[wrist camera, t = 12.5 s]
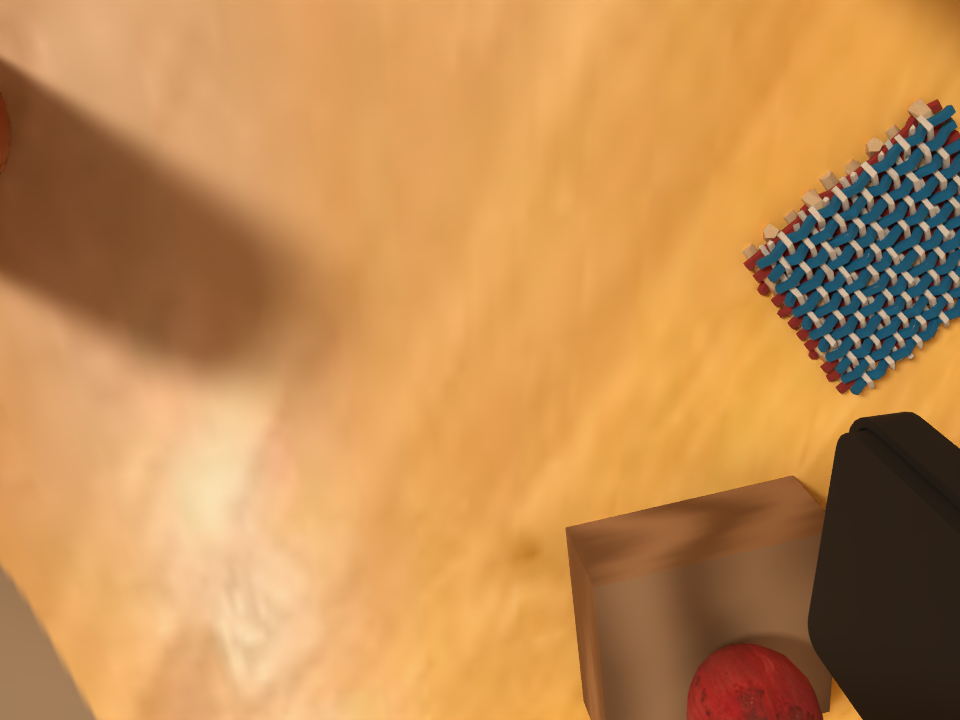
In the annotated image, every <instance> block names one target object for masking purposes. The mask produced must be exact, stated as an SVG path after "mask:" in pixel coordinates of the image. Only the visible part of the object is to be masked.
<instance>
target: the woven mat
mask: <svg viewBox="0 0 960 720" xmlns="http://www.w3.org/2000/svg"><path fill="white" fill-rule="evenodd" d="M941 109H942V106H941V104H940V102H939V101H938V99H937V100H935V101H933V102H931V103H929V104H927V105H926V104H925V103H924V102H923V100H922V99H921V98H920V99H919V100H917V101H915V102H914V103H913V104H912V105H911V106H910V108H909V109H908V111H909V112H910V113H911V114H912V116H910V117H909V119H908V121H907V123H906V125H905V127H904V128H903V129H902V130H901V131H900V130H899V129H898V128H897V126H896V125H895V124H894V125H893V126H891V127H890V128H889V129H888V130H887V131H886V134H887V136H888V138H889V139H888V140H887V141H886V143H885V145H884V146H883V144H884V143H883V142H881V141H880V140H878V139H877V138H875V137H873V138H872V139H871V140H869V141H868V142H867V144H866V150H865V152H866V154H867V155H868V157H869V158H870V159H869V160H868V161H865V162H864V163H863V164H862V165H861V164H860V163H859V162H858V161H856V160H854V159H852V160H851V161H850V162H849V163H848V164H847V165H845V166H846V171H845V172H846V174H847V175H848V176H847V177H841V179H840V180H839V181H840V182H838V180H837V179H836V177H835V176H834V174H833V172H832V171H831V170H829V171H828V172H827V173H826V174H825V175H823V176H822V177H821V178H820V179H819V180H820V181H821V183H822V184H823V186H824V187H825V189H826V192H823V193H821V194H819V195H818V194H817V192H816V191H815V190H814V189H812V190H810V191H808V192H806V193H805V195H804V196H803V197H802V198H801V199H802V200H803V201H804V203H805V205H804V206H803V207H802V208H801V209H800V211H799V213H797V214H798V215H797V214H796V213H795V211H794V210H792V211H790V212H789V213H788V214H787V215H786V216H785V217H783V218H784V219H785V221H786V222H787V224H788V226H786V227H785V228H784V229H783V230H782V231H781V232H779V229H777V228H776V227H774V226H773V225H771V224H769V225H767V226H766V227H765V228H764V229H763V238H764V239H765V240H766V242H767V244H765V245H761V246H759V248H760V250H758V251H757V249H756V248H755V247H754V245H753V244H752V243H751V244H750V245H749V246H748V247H747V248H746V249H744V250H743V251H742V252H743V254H744V255H745V257H746V258H747V261H746V262H744V265H745V266H746V267H747V269H748V270H751V269H754V270H755V272H756V273H755V274H753V277H754V278H755V279H756V281H758V282H759V283H760V282H761V283H760V285H759V287H758V289H757V290H758V292H759V293H760V294H761V295H766V294H767V292H768V290H770V291H771V293H772V294H773V295H774V296H775V297H774V298H772V299H771V301H772V302H773V304H774V305H775V306H777V307H778V306H779V305H780V304H781V306H782V307H783V308H781V309H780V310H779V311H778V313H777V314H778V315H779V316H780V318H782V317H784V316H786V315H787V314H788V315H789V317H790V318H791V320H790V321H789V322H788V324H789V326H790V327H791V328H792V329H795V328H796V327H798V329H799V330H800V331H799V332H797V333H796V334H797V336H798V337H799V338H800V339H801V340H802V341H803V340H804V339H805V338H806V340H807V342H806V343H805V344H804V345H805V347H806V348H807V349H808V350H809V351H810V352H809V357H810V358H811V359H817V358H818V357H819V358H820V359H821V360H822V361H823V362H824V364H823V365H821V366H820V367H821V368H822V369H823V371H824V372H826V373H828V372H829V371H830V373H828V374H827V375H826V377H827V379H828V380H829V382H831V381H833V380H836V379H837V380H838V381H839V382H840V384H839V385H838V386H837V387H836V389H837V390H838V391H839V392H840V393H841V394H843V393H844V392H845V391H846V390H847V389H849V388H851V387H852V388H851V389H850V390H851V392H852V393H853V394H855V395H859V393H860V392H861V391H862V389H863V388H864V387H865V386H866V384H868V387H869V388H874V387H875V386H874V383H873V381H872V380H877V379H879V378H881V377H882V376H884V375H885V373H886V370H887V368H888V365H890V368H891V369H893V370H895V366H896V365H895V361H900V360H902V359H904V357H908V358H909V359H911V358H912V357H913V356H914V355H913V354H912V351H913V349H914V347H915V345H916V343H917V347H918V348H920V349H922V347H923V341H927V340H929V339H931V338H932V337H933V336H934V335H935V333H936V331H937V330H938V329H940V328H939V324H940V323H943V324H944V327H947V326H949V325H950V323H949V320H951V319H954V318H957V317H959V316H960V134H959V132H958V131H956V130H954V129H955V128H956V127H957V125H956V123H955V121H954V120H953V119H952V118H951V116H952V115H953V114H954V113H955V112H956V111H955V109H954V108H953V106H952V105H949V106H946V107H945V108H944V109H943V110H942V111H941V112H939V113H937V114H935V115H934V114H933V113H934V112H936V111H938V110H941ZM916 128H917V130H916ZM882 146H883V147H882ZM932 157H933V158H932ZM880 179H881V181H880V183H879V180H880ZM830 200H831V202H830ZM853 203H854V204H853ZM868 212H869V213H868ZM928 214H929V215H930V218H929V216H928ZM954 216H955V217H954ZM953 217H954V218H953ZM815 223H816V224H815ZM912 230H913V232H912V234H911V231H912ZM863 250H865V252H864V255H863ZM926 254H928V257H927V259H926V257H925V255H926ZM836 255H837V256H838V257H837V256H836ZM948 256H949V257H948ZM947 257H948V258H947ZM816 269H817V271H816ZM815 271H816V273H815V275H814V276H813V274H814V272H815ZM786 275H787V276H788V277H789V278H787V277H786ZM879 275H881V276H880V278H879ZM915 285H916V286H915ZM831 295H833V296H832V298H831V300H830V299H829V296H831ZM955 298H957V302H956V304H955V306H954V299H955ZM894 302H895V303H894ZM929 304H930V308H931V309H928V307H927V305H929ZM947 309H948V310H947ZM946 310H947V311H946ZM909 318H911V321H910V324H909V322H908V320H909ZM883 324H885V326H886V327H883V326H882V325H883ZM927 325H928V326H927ZM921 330H922V332H920V331H921ZM863 338H865V340H864V342H863V344H862V346H861V342H862V340H863ZM837 346H838V347H839V348H838V347H837ZM899 348H901V349H899ZM898 349H899V350H898ZM878 361H879V363H878V366H877V368H876V363H875V362H878ZM853 367H854V368H853ZM852 368H853V370H852ZM852 385H853V386H852Z"/></svg>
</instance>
